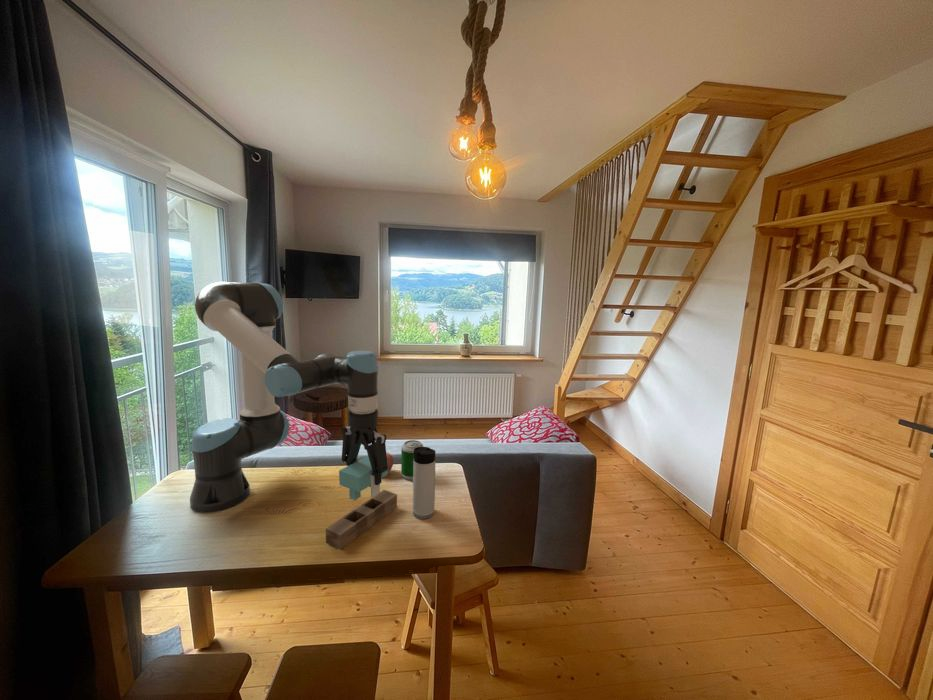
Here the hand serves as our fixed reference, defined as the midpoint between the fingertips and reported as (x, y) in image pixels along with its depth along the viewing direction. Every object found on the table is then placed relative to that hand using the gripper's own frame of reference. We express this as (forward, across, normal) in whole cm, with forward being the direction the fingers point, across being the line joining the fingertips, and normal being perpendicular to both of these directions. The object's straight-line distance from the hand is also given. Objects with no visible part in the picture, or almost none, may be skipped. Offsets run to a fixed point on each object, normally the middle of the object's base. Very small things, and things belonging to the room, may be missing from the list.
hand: (364, 490), depth 102 cm
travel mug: (+10, +11, +12) cm, 19 cm away
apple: (+10, -15, +24) cm, 31 cm away
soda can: (+10, -5, +28) cm, 31 cm away
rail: (+10, 0, 0) cm, 10 cm away
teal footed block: (0, 0, 0) cm, 0 cm away
